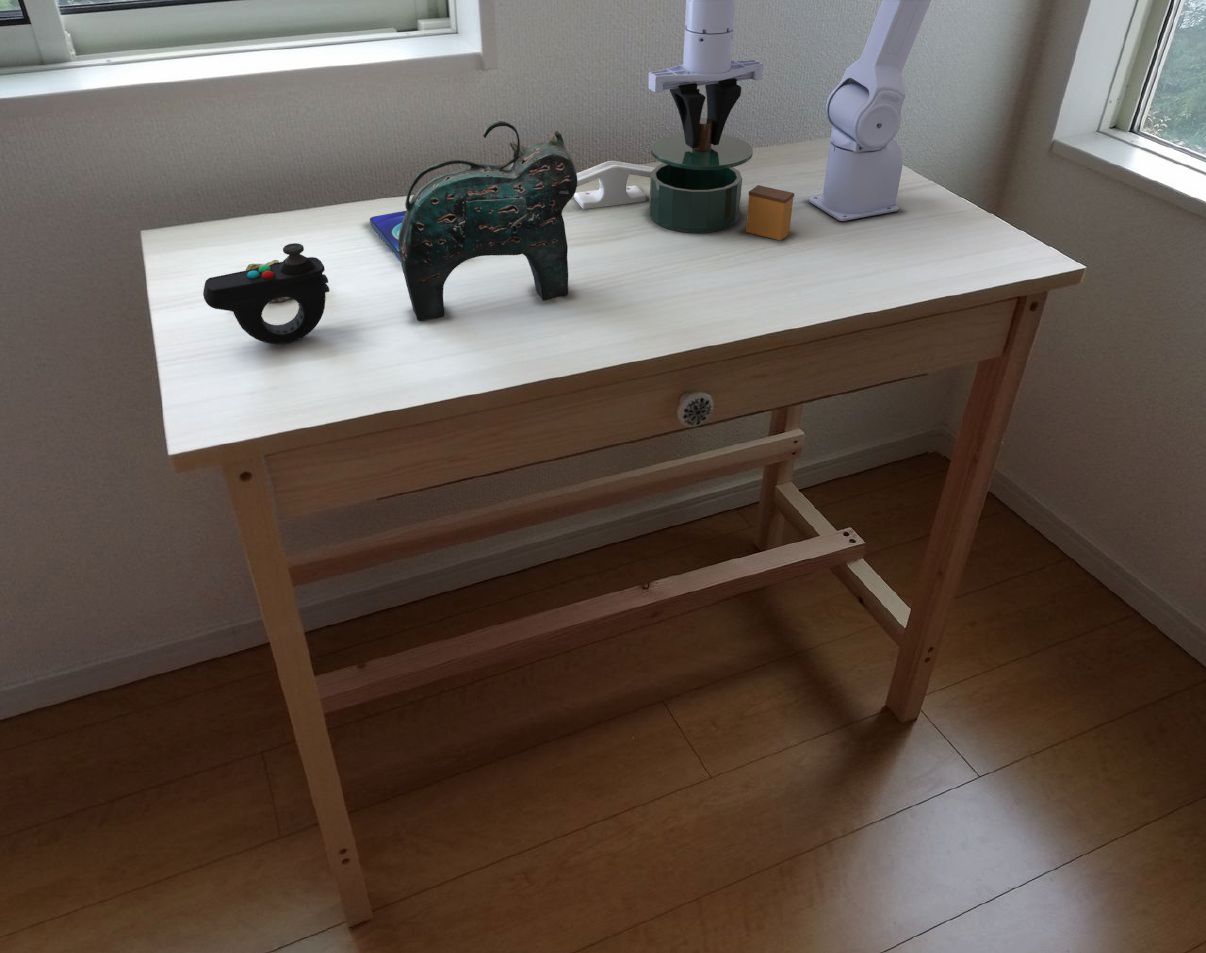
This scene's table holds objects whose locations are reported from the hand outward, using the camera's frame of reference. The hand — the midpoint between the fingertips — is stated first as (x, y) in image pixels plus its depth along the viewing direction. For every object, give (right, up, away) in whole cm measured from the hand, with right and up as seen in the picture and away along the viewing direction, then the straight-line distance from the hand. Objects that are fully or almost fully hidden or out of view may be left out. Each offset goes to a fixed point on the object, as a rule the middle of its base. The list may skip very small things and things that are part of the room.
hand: (702, 144), depth 125 cm
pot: (0, -7, +8) cm, 11 cm away
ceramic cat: (-25, -22, -12) cm, 35 cm away
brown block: (+9, -10, +4) cm, 14 cm away
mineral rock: (-51, -20, -9) cm, 56 cm away
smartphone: (-37, -12, +2) cm, 38 cm away
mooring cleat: (-12, -4, +13) cm, 18 cm away
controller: (-47, -27, -19) cm, 58 cm away
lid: (0, -1, +1) cm, 1 cm away
